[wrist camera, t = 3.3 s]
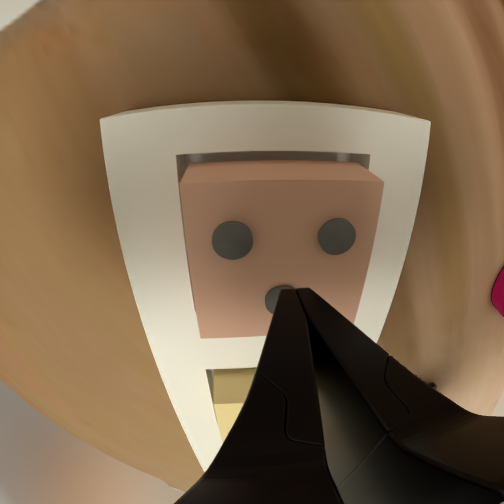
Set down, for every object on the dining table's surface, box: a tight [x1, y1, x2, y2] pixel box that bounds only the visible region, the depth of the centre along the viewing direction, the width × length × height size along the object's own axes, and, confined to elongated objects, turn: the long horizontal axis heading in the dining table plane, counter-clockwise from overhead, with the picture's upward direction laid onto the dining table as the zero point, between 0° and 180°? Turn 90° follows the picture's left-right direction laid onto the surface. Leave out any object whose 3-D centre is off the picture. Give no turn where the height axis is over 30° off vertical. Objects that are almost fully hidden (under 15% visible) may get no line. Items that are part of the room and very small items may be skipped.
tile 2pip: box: [213, 367, 257, 443], centre depth 16 cm, size 6×6×2 cm
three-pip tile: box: [179, 160, 384, 339], centre depth 11 cm, size 6×6×2 cm
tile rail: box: [100, 101, 431, 472], centre depth 18 cm, size 12×32×3 cm, turn 0°
